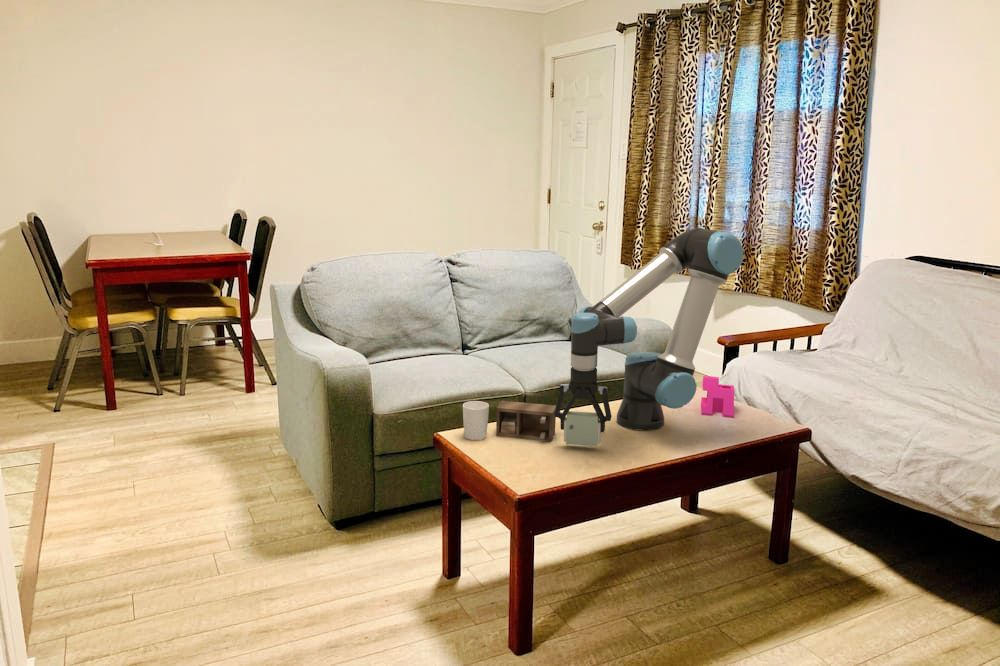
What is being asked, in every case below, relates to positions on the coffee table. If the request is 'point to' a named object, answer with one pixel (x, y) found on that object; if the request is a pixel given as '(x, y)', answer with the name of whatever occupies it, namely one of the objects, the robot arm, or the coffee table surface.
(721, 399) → the pink notched block
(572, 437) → the sage door
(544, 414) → the walnut cabinet
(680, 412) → the coffee table surface
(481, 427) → the white cup
